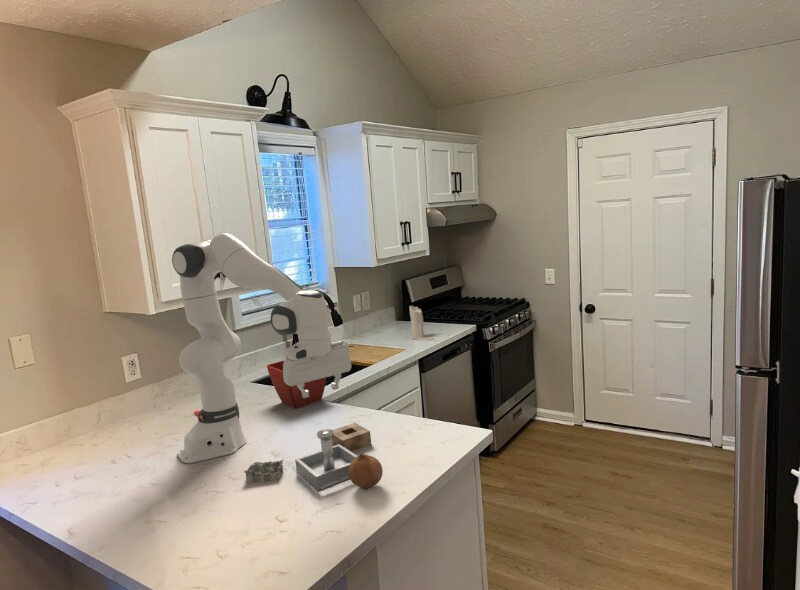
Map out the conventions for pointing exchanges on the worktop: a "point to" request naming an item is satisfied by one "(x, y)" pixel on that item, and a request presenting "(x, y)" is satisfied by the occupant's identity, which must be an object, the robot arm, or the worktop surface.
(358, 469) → the onion
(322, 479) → the grey tray
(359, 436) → the socket block
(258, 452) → the worktop surface
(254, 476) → the egg carton
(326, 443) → the steel pin
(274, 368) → the plant pot
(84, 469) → the worktop surface
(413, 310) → the candle
